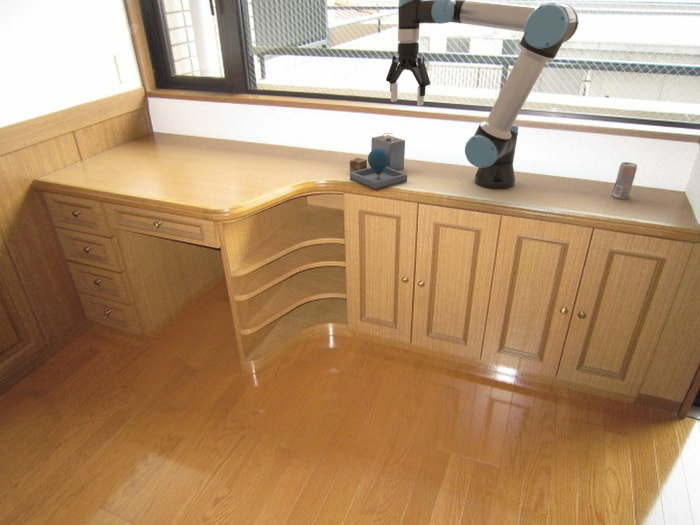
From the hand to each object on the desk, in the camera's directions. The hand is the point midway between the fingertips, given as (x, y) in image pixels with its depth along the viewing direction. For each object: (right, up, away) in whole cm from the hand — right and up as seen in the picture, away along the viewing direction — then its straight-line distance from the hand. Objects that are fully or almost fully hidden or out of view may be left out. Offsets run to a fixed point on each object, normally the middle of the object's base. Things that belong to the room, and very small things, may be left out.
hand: (406, 103), depth 185 cm
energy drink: (+76, -37, -8) cm, 85 cm away
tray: (-10, -28, +9) cm, 31 cm away
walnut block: (-18, -22, +19) cm, 34 cm away
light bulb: (-10, -27, +8) cm, 30 cm away
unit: (-6, -19, +24) cm, 31 cm away
